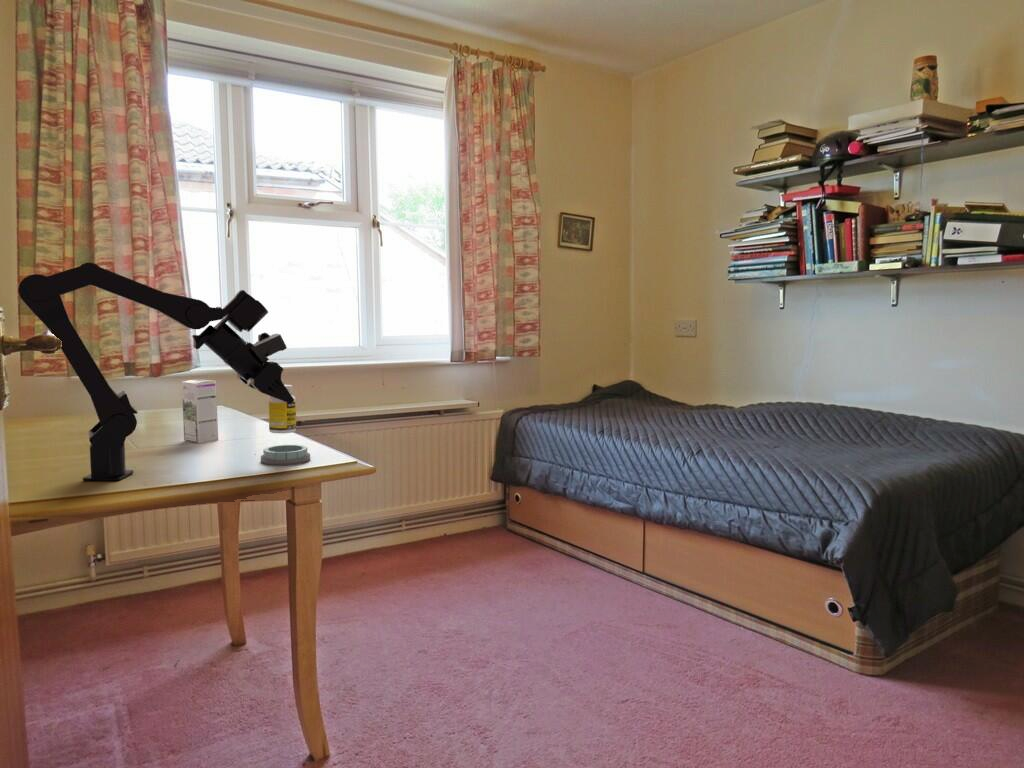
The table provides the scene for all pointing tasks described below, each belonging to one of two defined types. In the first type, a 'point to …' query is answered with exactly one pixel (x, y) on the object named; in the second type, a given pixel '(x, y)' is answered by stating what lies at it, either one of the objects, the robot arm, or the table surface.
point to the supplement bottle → (282, 414)
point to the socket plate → (285, 455)
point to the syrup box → (200, 411)
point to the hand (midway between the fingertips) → (289, 400)
